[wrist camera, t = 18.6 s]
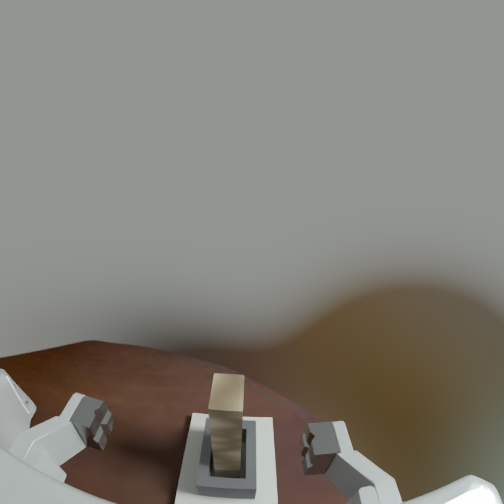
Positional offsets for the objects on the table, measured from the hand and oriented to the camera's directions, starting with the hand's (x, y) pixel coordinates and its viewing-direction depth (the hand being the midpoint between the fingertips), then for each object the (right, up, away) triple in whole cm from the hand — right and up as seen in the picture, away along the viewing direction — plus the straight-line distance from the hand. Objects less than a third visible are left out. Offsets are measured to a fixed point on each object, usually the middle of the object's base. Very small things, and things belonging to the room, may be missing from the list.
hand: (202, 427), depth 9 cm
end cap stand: (-1, -21, +19) cm, 29 cm away
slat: (-1, -20, +19) cm, 28 cm away
